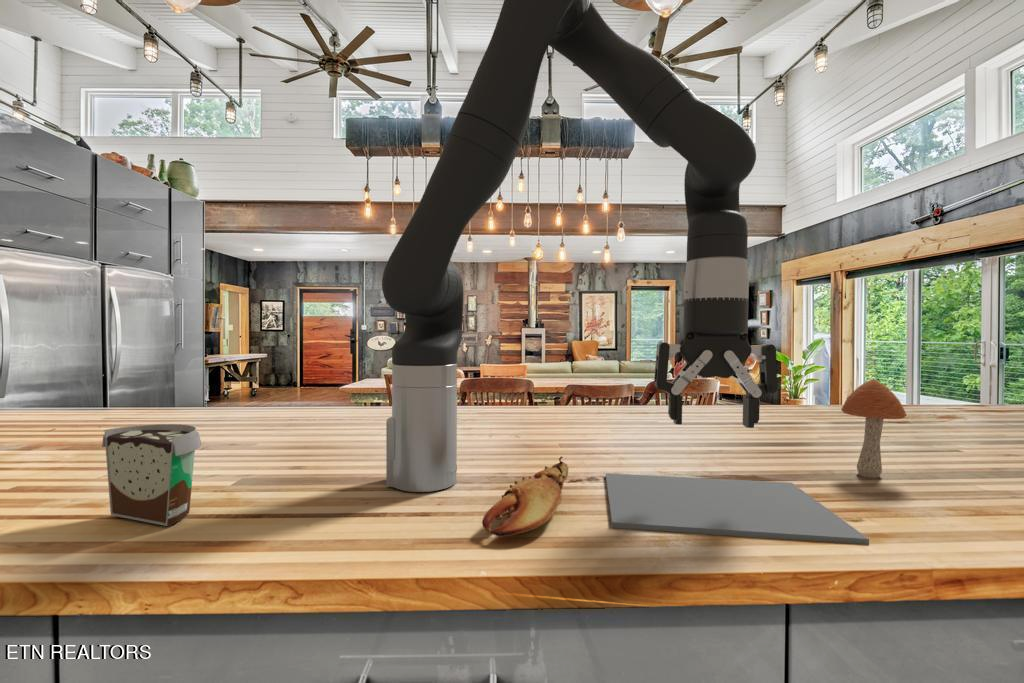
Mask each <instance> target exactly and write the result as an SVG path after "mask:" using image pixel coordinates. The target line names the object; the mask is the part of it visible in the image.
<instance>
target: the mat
mask: <svg viewBox="0 0 1024 683" xmlns="http://www.w3.org/2000/svg"><path fill="white" fill-rule="evenodd" d="M605 482H606V489H607V490H606V491H607V499H608V507H609V515H610V522H611V524H610V525H611V528H614V529H615V528H616V529H625V530H626V529H627V530H628V529H629V530H641V531H642V530H643V531H657V532H672V533H676V532H677V533H687V534H688V533H689V534H700V535H701V534H704V535H714V536H715V535H718V536H729V537H730V536H731V537H732V536H733V537H745V538H746V537H748V538H762V539H763V538H765V539H780V540H781V539H782V540H794V541H795V540H796V541H814V542H826V543H830V542H831V543H843V544H844V543H845V544H847V543H848V544H860V545H870V539H869V537H867V536H865V535H864V534H863V533H862V532H860V531H859V530H858V529H856V528H854V527H853V526H852V525H851V524H849V523H848V522H846V521H845V520H844V519H842V517H839V516H838V515H837V514H836V513H834V512H833V511H831V510H830V509H829V508H827V507H826V506H825V505H823V504H822V503H820V502H819V501H818V500H816V499H815V498H814V497H812V496H811V495H809V494H808V493H806V492H805V491H804V490H802V489H801V488H800V487H798V486H797V485H796V484H795V483H793V482H788V481H787V482H786V481H767V480H766V481H764V480H749V479H748V480H745V479H744V480H742V479H729V478H728V479H727V478H726V479H725V478H705V477H690V476H689V477H688V476H687V477H686V476H685V477H684V476H669V475H668V476H667V475H664V476H663V475H645V474H627V473H626V474H625V473H610V472H609V473H607V472H606V473H605Z"/></svg>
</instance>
